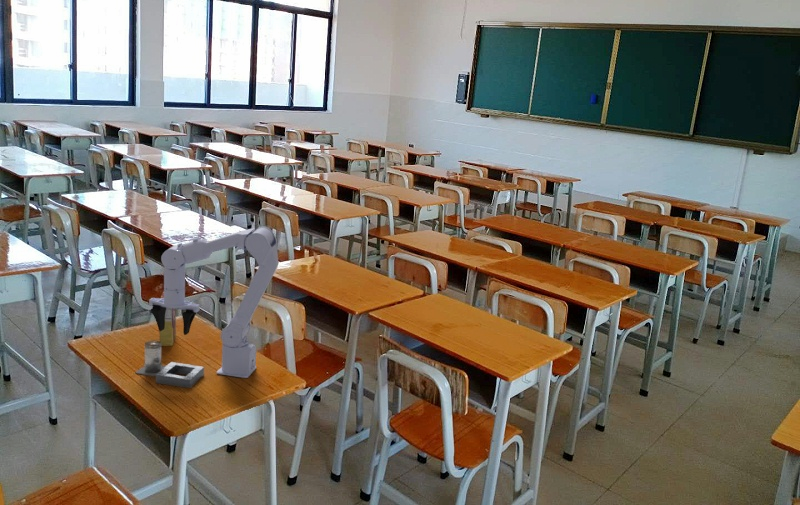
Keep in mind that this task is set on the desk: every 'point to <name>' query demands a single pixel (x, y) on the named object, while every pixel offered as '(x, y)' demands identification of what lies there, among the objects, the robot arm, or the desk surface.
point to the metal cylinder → (152, 356)
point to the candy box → (168, 327)
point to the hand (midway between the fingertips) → (174, 331)
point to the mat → (143, 372)
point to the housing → (183, 381)
